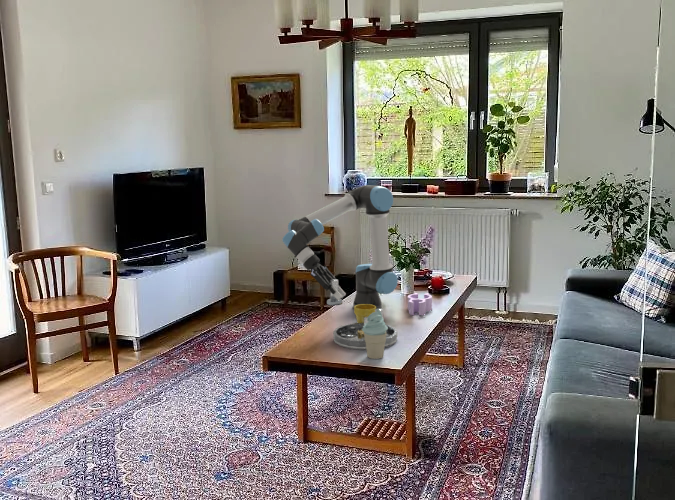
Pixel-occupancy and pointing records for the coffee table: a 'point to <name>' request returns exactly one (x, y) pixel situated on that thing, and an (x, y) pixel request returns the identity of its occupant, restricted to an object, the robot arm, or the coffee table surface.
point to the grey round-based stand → (333, 300)
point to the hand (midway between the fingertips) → (342, 297)
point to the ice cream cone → (375, 335)
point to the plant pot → (363, 311)
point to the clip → (419, 304)
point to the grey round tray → (360, 335)
